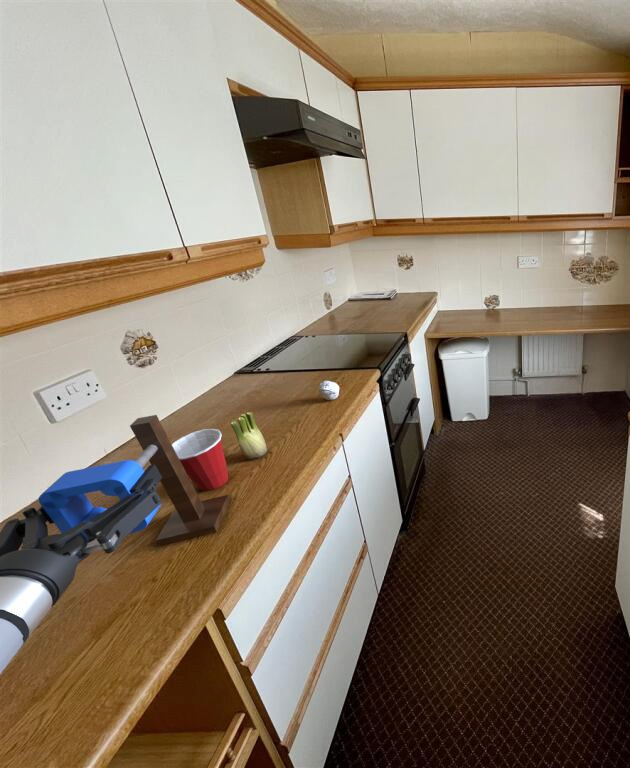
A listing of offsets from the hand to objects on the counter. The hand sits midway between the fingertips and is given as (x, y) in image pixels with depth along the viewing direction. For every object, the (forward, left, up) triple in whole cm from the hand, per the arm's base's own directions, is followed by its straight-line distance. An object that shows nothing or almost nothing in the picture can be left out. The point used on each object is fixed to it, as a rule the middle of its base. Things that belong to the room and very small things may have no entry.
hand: (116, 479), depth 65 cm
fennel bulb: (-27, +23, -21) cm, 42 cm away
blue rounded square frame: (+4, -2, -6) cm, 7 cm away
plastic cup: (-23, +12, -21) cm, 34 cm away
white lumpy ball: (-42, +51, -21) cm, 69 cm away
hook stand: (-7, +4, -21) cm, 22 cm away
